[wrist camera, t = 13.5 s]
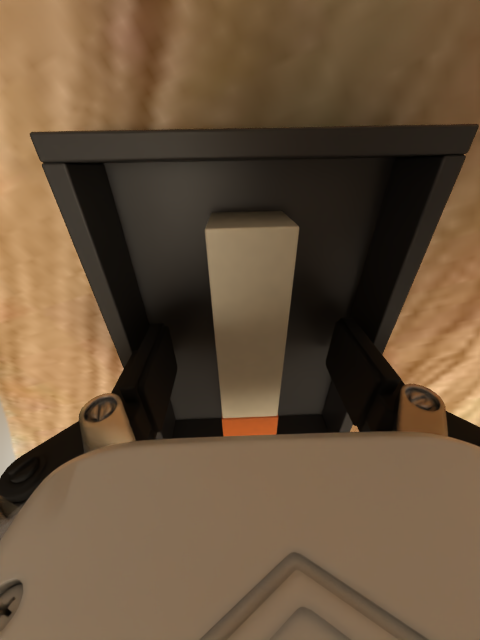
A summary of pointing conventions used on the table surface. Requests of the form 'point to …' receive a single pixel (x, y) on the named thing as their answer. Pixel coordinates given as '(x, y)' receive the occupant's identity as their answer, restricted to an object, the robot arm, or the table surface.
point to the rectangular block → (250, 313)
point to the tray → (253, 196)
